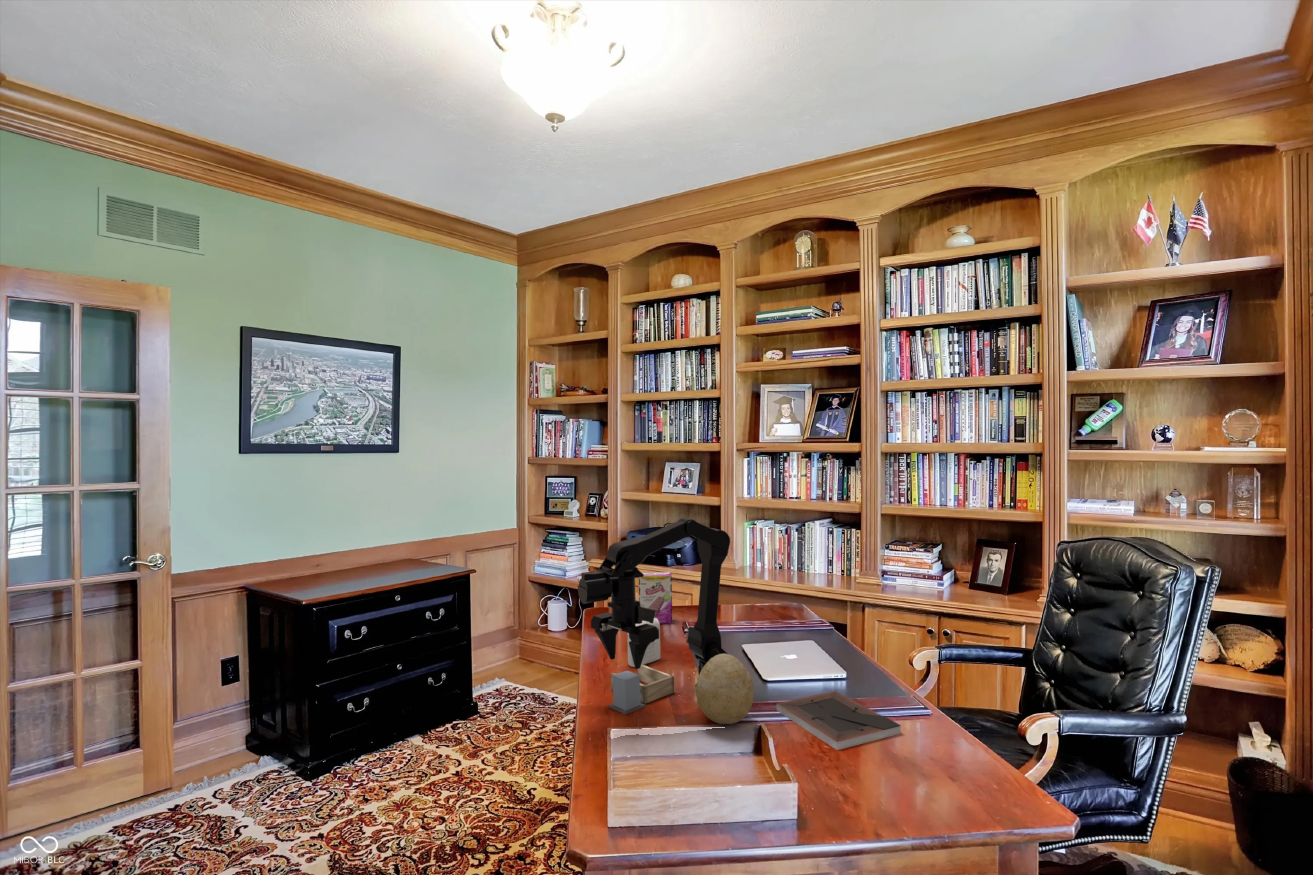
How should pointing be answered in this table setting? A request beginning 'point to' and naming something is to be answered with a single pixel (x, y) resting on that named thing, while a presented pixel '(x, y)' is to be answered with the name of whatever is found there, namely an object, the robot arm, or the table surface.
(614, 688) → the slate block
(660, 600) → the candy bar box
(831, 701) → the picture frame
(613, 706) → the felt coaster
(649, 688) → the u-shaped bracket
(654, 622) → the white rounded slab
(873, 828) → the table surface
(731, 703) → the fossilized egg
